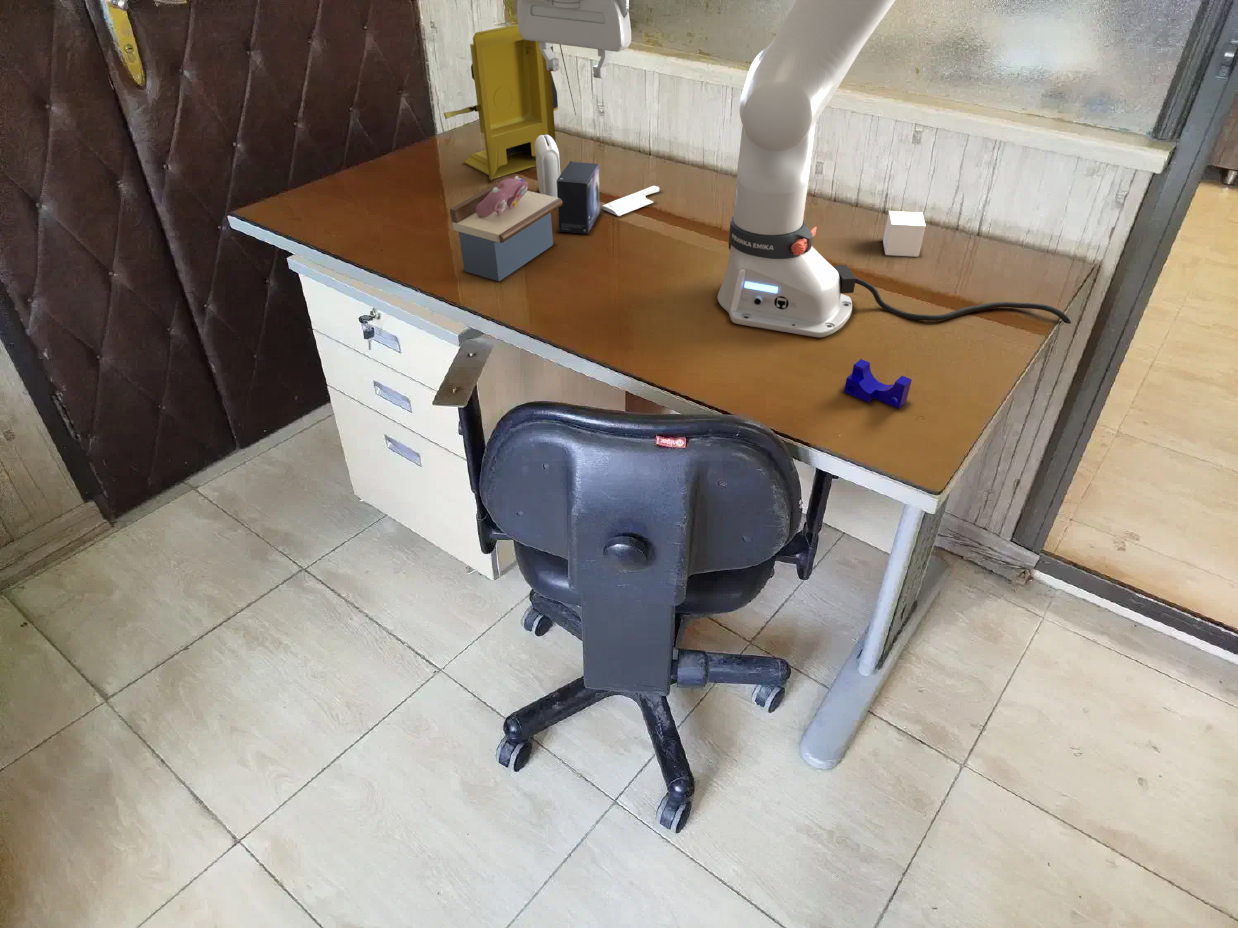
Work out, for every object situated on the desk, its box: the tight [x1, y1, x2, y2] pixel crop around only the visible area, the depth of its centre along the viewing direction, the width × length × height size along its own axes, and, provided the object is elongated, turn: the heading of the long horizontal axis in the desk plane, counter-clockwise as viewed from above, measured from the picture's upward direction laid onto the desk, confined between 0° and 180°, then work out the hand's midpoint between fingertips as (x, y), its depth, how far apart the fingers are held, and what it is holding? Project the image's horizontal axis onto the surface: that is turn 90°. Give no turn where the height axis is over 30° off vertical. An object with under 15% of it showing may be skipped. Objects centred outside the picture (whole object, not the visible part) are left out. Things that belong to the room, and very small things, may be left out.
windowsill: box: [449, 174, 563, 282], centre depth 151 cm, size 11×18×12 cm, turn 149°
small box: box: [557, 160, 601, 235], centre depth 163 cm, size 11×6×10 cm, turn 168°
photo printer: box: [535, 135, 561, 197], centre depth 173 cm, size 10×4×12 cm, turn 13°
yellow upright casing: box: [443, 23, 577, 183], centre depth 183 cm, size 31×14×30 cm, turn 130°
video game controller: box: [476, 175, 530, 217], centre depth 146 cm, size 10×5×7 cm, turn 148°
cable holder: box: [843, 358, 913, 410], centre depth 118 cm, size 8×4×4 cm, turn 48°
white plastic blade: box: [601, 185, 660, 217], centre depth 173 cm, size 5×15×1 cm, turn 132°
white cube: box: [882, 210, 927, 258], centre depth 154 cm, size 6×6×6 cm
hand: (576, 74), depth 139 cm, fingers open, 8 cm apart
